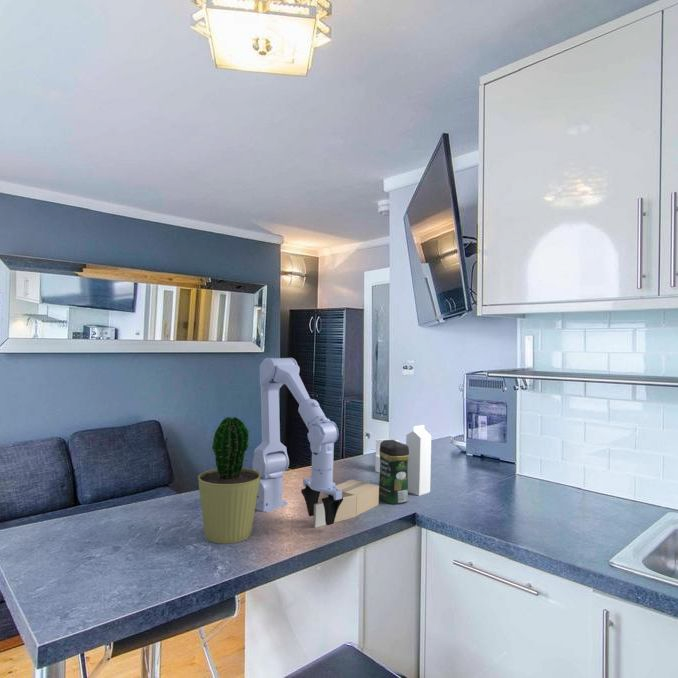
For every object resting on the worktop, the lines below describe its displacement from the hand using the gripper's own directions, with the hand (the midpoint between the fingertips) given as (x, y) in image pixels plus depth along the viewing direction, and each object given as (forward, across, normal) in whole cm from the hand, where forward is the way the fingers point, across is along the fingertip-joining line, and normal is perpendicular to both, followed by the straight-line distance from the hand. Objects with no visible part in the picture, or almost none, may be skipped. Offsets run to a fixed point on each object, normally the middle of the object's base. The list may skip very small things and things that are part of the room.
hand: (321, 519), depth 126 cm
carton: (+2, +7, -17) cm, 19 cm away
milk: (+2, +6, -44) cm, 45 cm away
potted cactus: (+2, +10, +22) cm, 24 cm away
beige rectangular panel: (+2, 0, -5) cm, 5 cm away
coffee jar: (+2, +4, -31) cm, 32 cm away
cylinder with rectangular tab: (+2, +30, -54) cm, 62 cm away
